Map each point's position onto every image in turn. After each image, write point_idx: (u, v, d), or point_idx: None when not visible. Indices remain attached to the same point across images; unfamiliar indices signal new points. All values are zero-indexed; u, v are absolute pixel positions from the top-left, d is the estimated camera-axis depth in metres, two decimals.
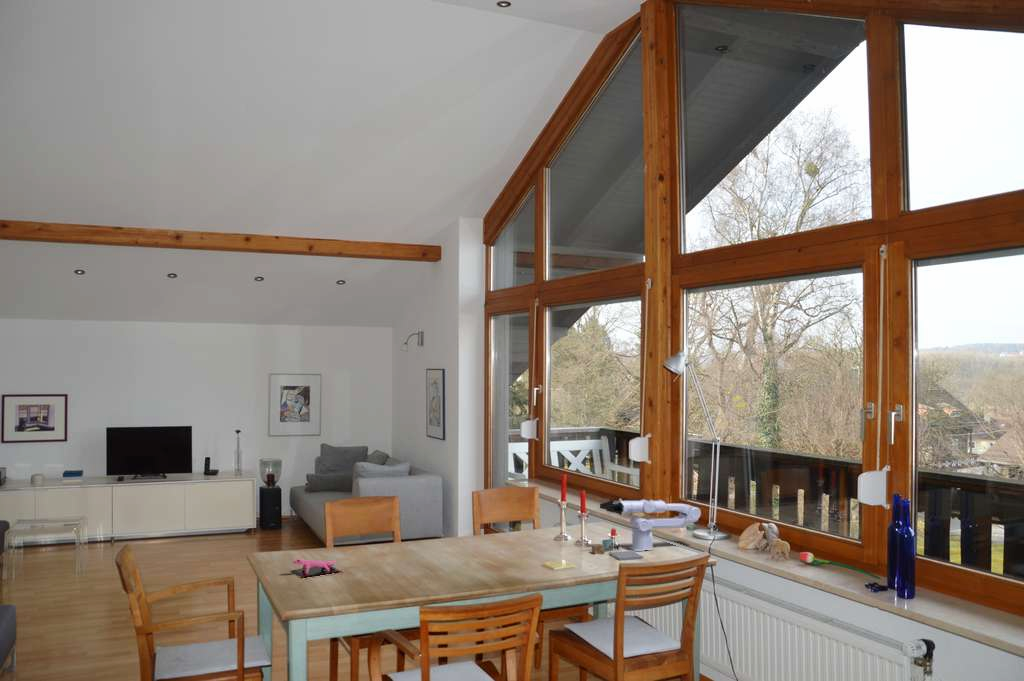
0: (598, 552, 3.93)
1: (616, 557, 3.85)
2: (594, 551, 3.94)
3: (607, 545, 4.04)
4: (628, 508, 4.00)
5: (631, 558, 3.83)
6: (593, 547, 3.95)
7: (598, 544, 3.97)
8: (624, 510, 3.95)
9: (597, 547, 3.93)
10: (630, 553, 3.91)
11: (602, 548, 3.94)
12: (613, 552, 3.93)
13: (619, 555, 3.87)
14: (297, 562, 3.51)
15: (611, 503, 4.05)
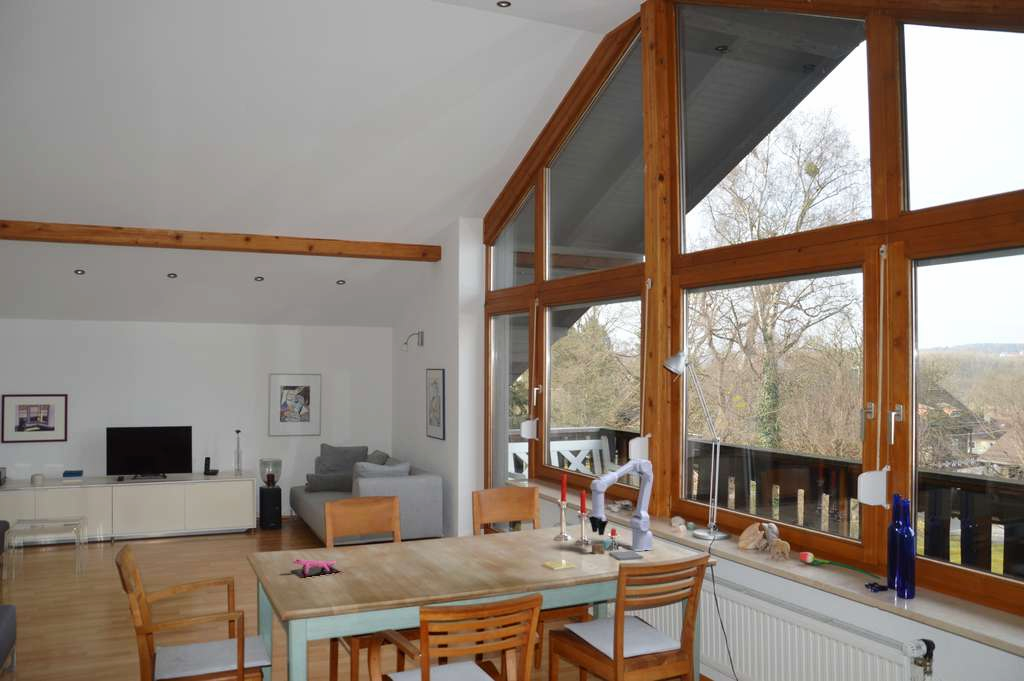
0: (598, 552, 3.93)
1: (616, 557, 3.85)
2: (594, 551, 3.94)
3: (607, 545, 4.04)
4: (601, 509, 3.94)
5: (631, 558, 3.83)
6: (593, 547, 3.95)
7: (598, 544, 3.97)
8: (605, 519, 3.89)
9: (597, 547, 3.93)
10: (630, 553, 3.91)
11: (602, 548, 3.94)
12: (613, 552, 3.93)
13: (619, 555, 3.87)
14: (297, 562, 3.51)
15: (592, 519, 3.99)
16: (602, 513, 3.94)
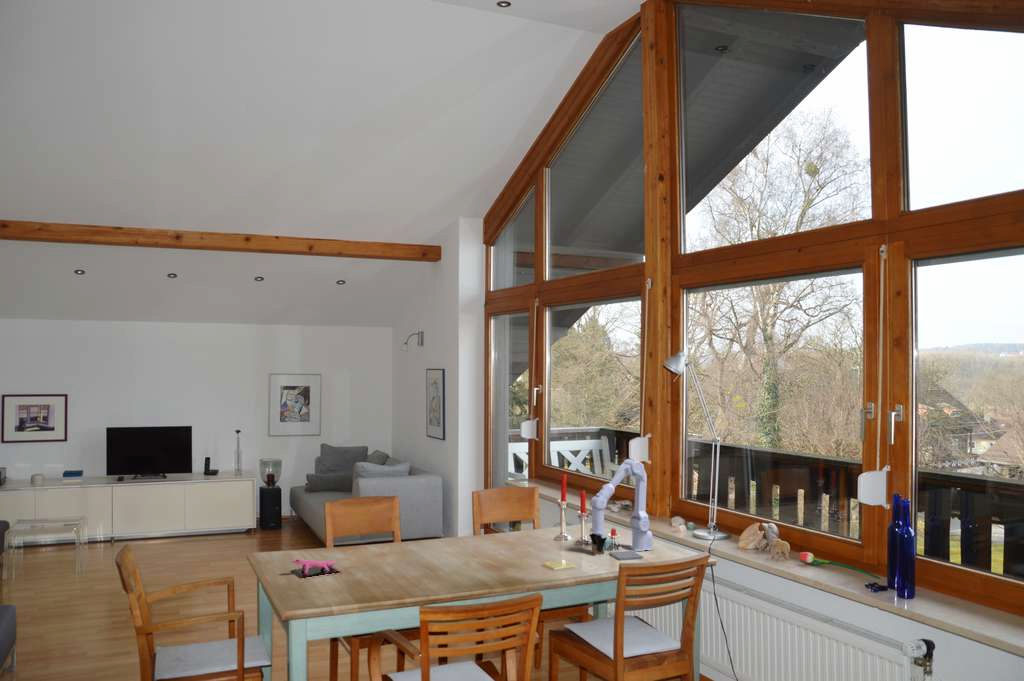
0: (598, 552, 3.93)
1: (616, 557, 3.85)
2: (594, 551, 3.94)
3: (607, 545, 4.04)
4: (601, 526, 3.94)
5: (631, 558, 3.83)
6: (593, 547, 3.95)
7: None
8: (604, 537, 3.89)
9: None
10: (630, 553, 3.91)
11: None
12: (613, 552, 3.93)
13: (619, 555, 3.87)
14: (296, 562, 3.51)
15: (593, 537, 3.98)
16: (602, 530, 3.94)
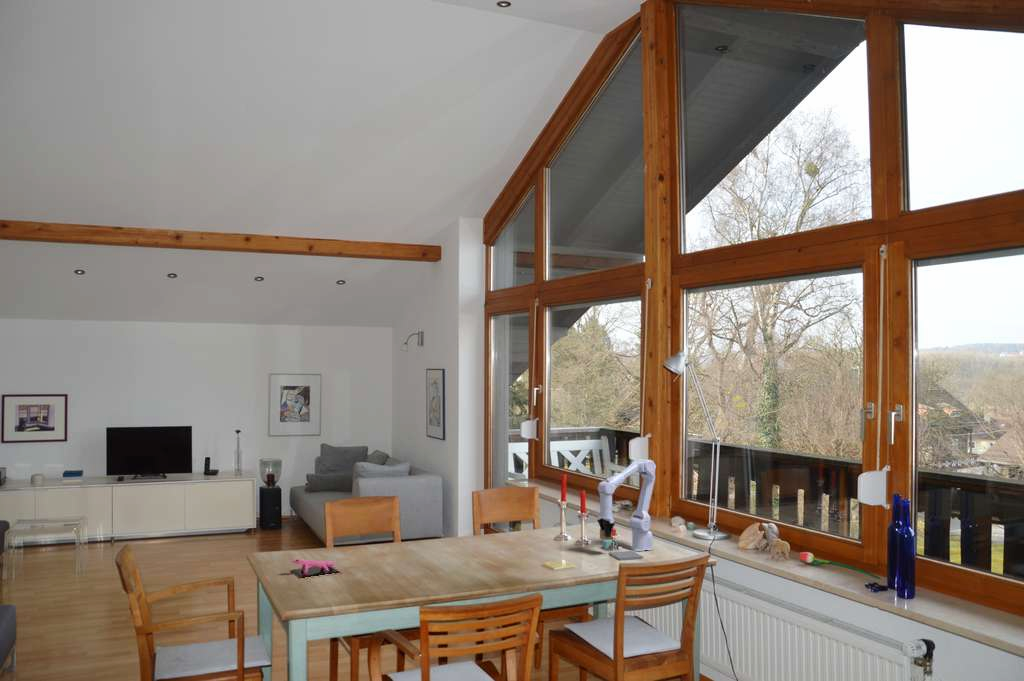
0: (606, 537, 3.92)
1: (616, 557, 3.85)
2: (602, 536, 3.92)
3: (607, 545, 4.04)
4: (609, 511, 3.92)
5: (631, 558, 3.83)
6: (601, 532, 3.94)
7: None
8: (613, 522, 3.88)
9: None
10: (630, 553, 3.91)
11: None
12: (613, 552, 3.93)
13: (619, 555, 3.87)
14: (296, 562, 3.51)
15: (601, 522, 3.96)
16: (610, 515, 3.92)
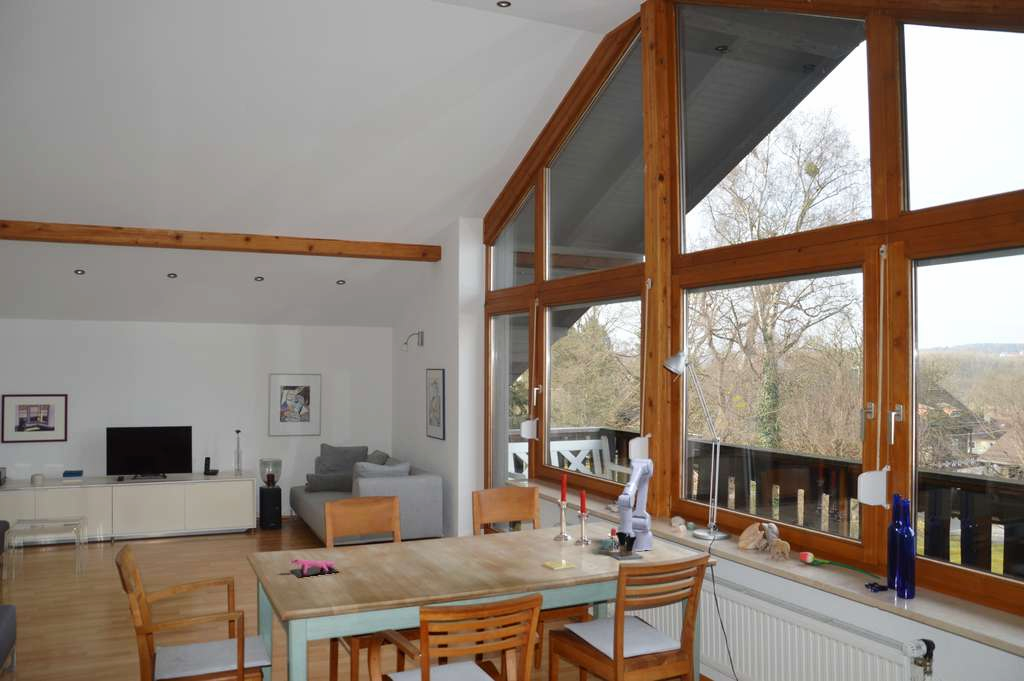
0: (626, 553, 3.87)
1: (616, 557, 3.85)
2: (622, 552, 3.88)
3: (607, 545, 4.04)
4: (629, 525, 3.87)
5: (631, 558, 3.83)
6: (621, 548, 3.89)
7: None
8: (633, 535, 3.83)
9: (625, 548, 3.87)
10: None
11: None
12: (613, 552, 3.93)
13: (619, 555, 3.87)
14: (295, 562, 3.52)
15: (620, 535, 3.93)
16: (630, 529, 3.87)
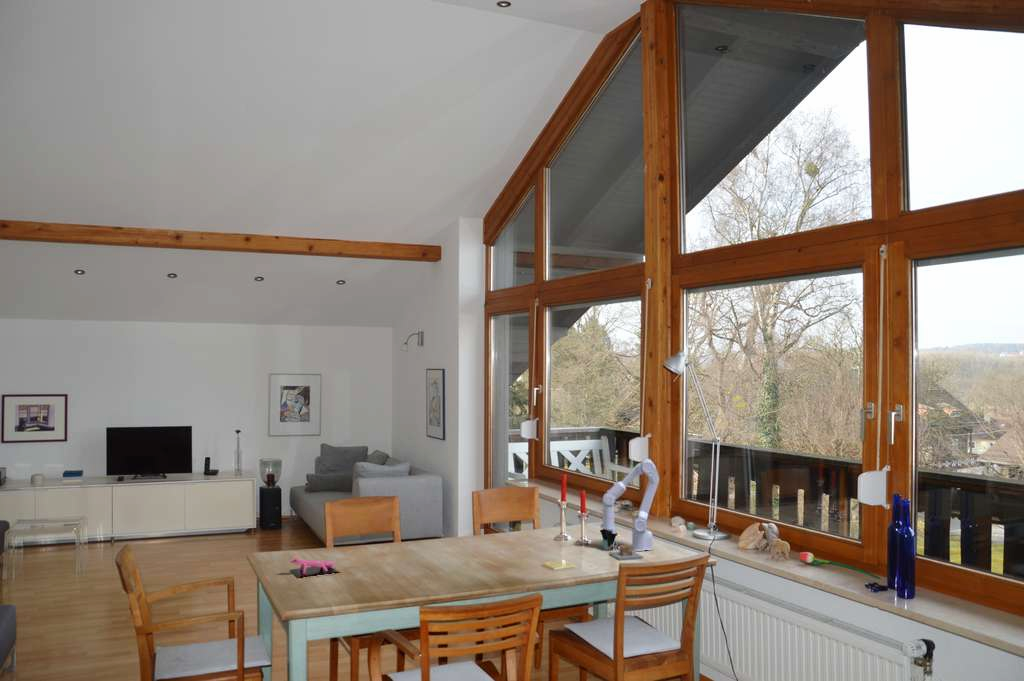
0: (626, 553, 3.87)
1: (616, 557, 3.85)
2: (622, 552, 3.88)
3: (607, 545, 4.04)
4: (611, 522, 4.04)
5: (631, 558, 3.83)
6: (621, 548, 3.89)
7: (626, 545, 3.91)
8: (615, 532, 4.00)
9: (625, 548, 3.87)
10: None
11: (630, 549, 3.87)
12: (613, 552, 3.93)
13: (619, 555, 3.87)
14: (294, 562, 3.52)
15: (604, 532, 4.08)
16: (612, 526, 4.04)
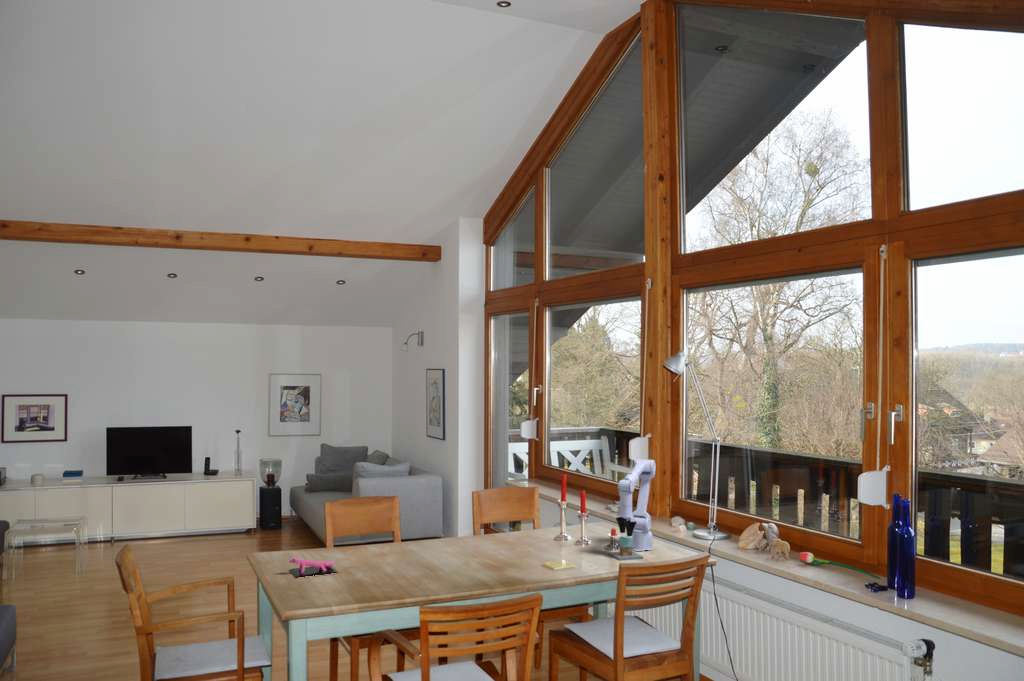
0: (626, 553, 3.87)
1: (616, 557, 3.85)
2: (622, 552, 3.88)
3: (624, 542, 3.87)
4: (629, 510, 3.87)
5: (631, 558, 3.83)
6: (621, 548, 3.89)
7: None
8: (633, 520, 3.83)
9: (625, 548, 3.87)
10: None
11: (630, 549, 3.88)
12: (613, 552, 3.93)
13: (619, 555, 3.87)
14: (293, 561, 3.52)
15: (620, 520, 3.93)
16: (630, 514, 3.88)
